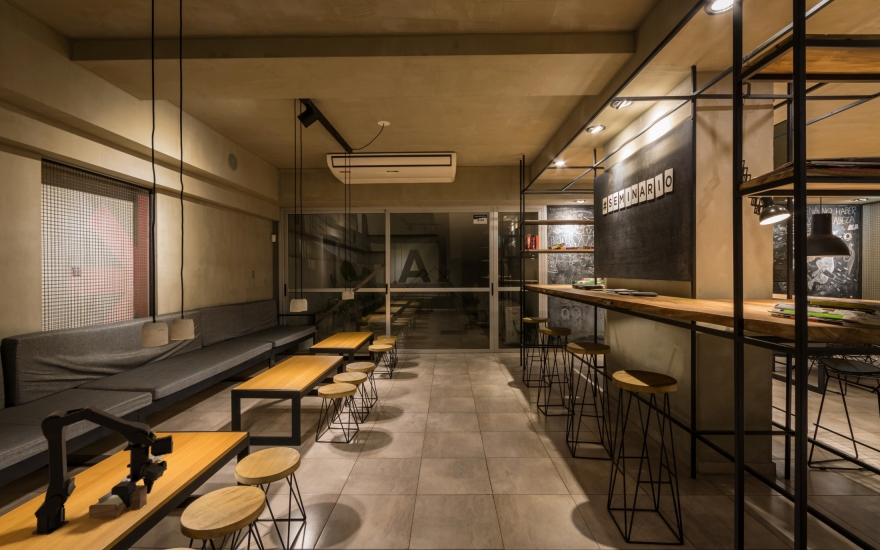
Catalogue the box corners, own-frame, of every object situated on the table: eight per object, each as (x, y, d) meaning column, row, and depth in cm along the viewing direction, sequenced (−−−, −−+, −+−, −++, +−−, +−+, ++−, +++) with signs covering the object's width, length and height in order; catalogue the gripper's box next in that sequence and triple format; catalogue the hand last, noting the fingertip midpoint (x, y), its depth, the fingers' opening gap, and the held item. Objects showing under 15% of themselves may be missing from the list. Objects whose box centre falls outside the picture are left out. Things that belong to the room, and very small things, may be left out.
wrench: (119, 495, 154) (165, 454, 184) (123, 494, 154) (169, 453, 184) (117, 477, 153) (164, 438, 183) (122, 476, 154) (168, 438, 183)
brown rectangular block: (140, 509, 139) (140, 490, 140) (131, 509, 139) (131, 490, 140) (146, 504, 143) (146, 485, 143) (138, 504, 143) (138, 485, 143)
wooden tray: (113, 518, 134) (114, 506, 134) (88, 518, 134) (89, 506, 134) (144, 496, 148) (144, 485, 148) (121, 496, 148) (121, 485, 148)
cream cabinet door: (116, 506, 135) (116, 500, 135) (93, 507, 135) (93, 500, 135) (141, 489, 147) (141, 483, 147) (119, 489, 147) (119, 484, 147)
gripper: (141, 471, 132) (141, 515, 132) (177, 448, 151) (177, 486, 151) (110, 471, 132) (109, 515, 132) (150, 448, 151) (149, 487, 150)
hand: (139, 500), depth 141 cm, fingers open, 9 cm apart
